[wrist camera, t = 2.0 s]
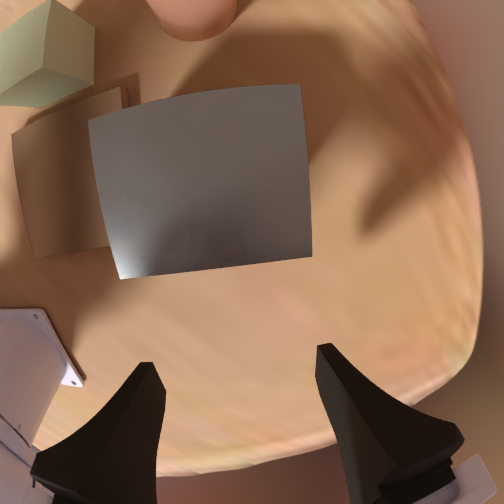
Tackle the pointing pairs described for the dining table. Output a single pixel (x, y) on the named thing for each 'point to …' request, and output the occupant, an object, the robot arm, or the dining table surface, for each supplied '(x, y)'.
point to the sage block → (45, 56)
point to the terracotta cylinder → (194, 17)
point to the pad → (62, 177)
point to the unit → (204, 180)
